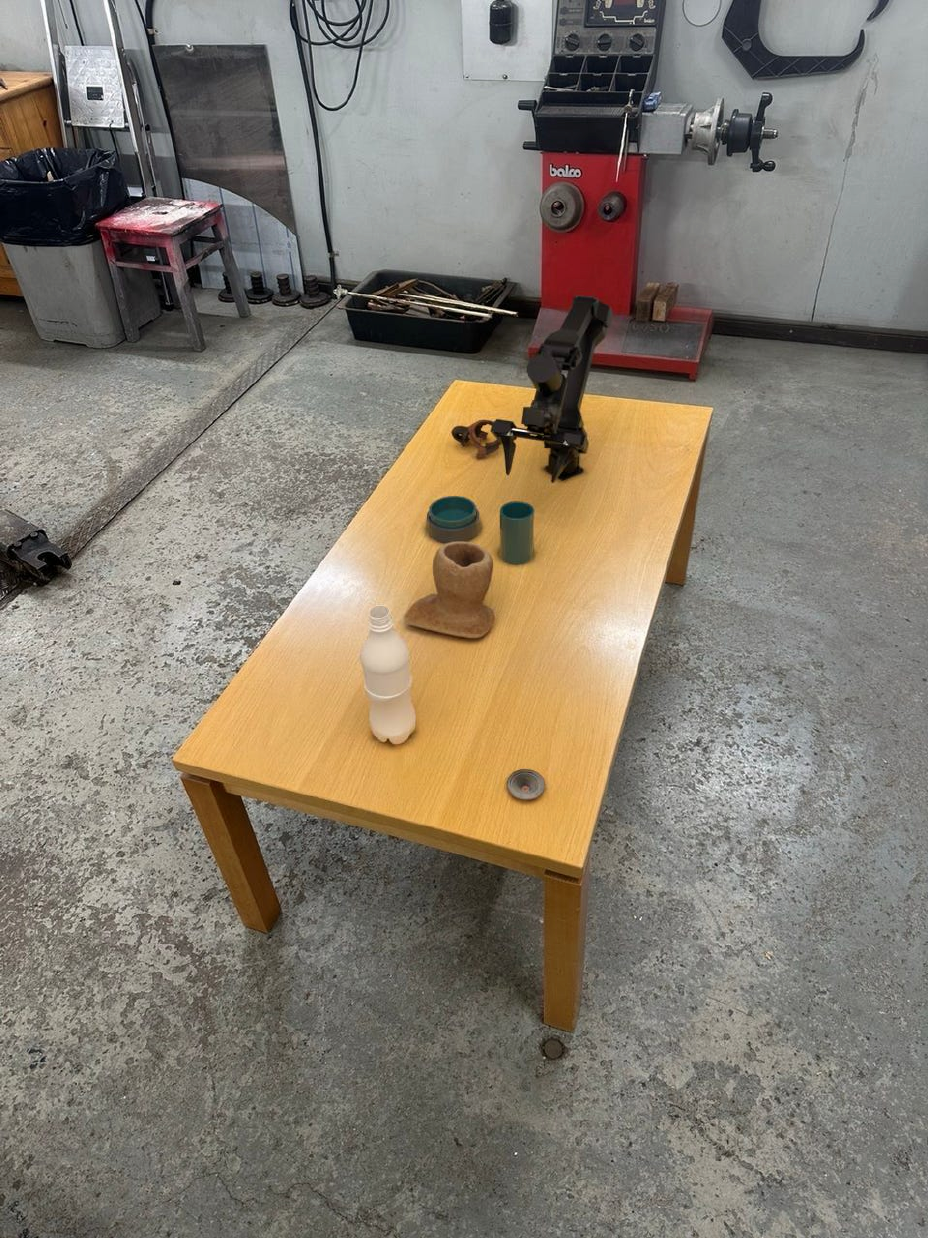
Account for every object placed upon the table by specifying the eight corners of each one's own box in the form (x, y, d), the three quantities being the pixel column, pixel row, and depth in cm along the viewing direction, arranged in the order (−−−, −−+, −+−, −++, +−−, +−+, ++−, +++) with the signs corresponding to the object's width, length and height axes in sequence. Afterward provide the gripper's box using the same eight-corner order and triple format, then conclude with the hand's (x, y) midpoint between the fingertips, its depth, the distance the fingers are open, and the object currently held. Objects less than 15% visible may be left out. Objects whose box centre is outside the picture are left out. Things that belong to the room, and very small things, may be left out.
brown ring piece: (497, 438, 206) (506, 418, 198) (495, 471, 202) (504, 452, 195) (449, 428, 204) (456, 408, 196) (445, 462, 200) (453, 442, 193)
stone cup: (504, 608, 156) (504, 541, 147) (482, 649, 148) (480, 582, 138) (428, 591, 161) (424, 525, 151) (403, 630, 153) (396, 564, 143)
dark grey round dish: (515, 808, 122) (515, 803, 122) (501, 780, 126) (501, 774, 126) (550, 798, 124) (550, 792, 123) (535, 769, 128) (536, 764, 127)
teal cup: (519, 541, 172) (520, 497, 165) (539, 556, 168) (540, 512, 161) (493, 552, 170) (493, 508, 163) (513, 568, 166) (513, 523, 159)
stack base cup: (460, 508, 182) (459, 495, 180) (489, 531, 175) (489, 518, 173) (417, 525, 178) (416, 512, 175) (446, 550, 171) (445, 536, 169)
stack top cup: (459, 510, 181) (458, 490, 178) (485, 531, 175) (485, 511, 172) (421, 526, 177) (420, 506, 174) (447, 547, 171) (446, 527, 168)
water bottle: (371, 717, 137) (353, 597, 120) (416, 713, 137) (404, 593, 121) (371, 751, 131) (353, 631, 115) (417, 747, 132) (405, 626, 115)
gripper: (493, 380, 161) (474, 459, 161) (588, 393, 156) (569, 475, 155) (506, 400, 172) (488, 474, 171) (596, 413, 167) (578, 490, 166)
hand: (529, 478), depth 166 cm, fingers open, 9 cm apart
